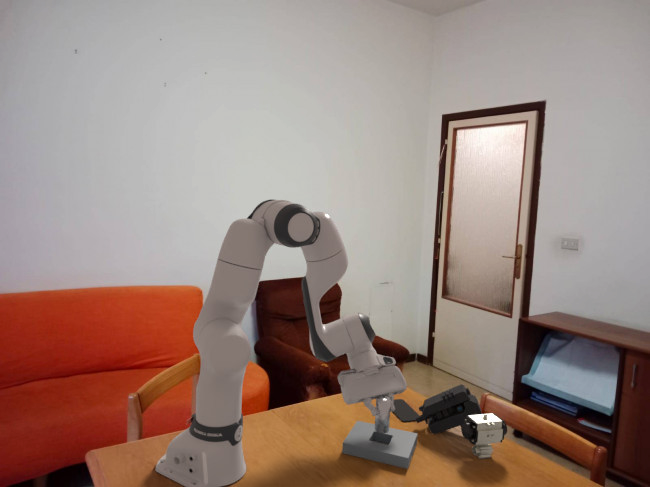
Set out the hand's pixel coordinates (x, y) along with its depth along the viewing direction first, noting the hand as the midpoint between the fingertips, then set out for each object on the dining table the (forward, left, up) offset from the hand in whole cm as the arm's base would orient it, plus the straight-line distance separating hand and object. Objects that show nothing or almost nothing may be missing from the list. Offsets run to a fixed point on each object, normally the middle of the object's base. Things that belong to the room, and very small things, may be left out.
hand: (384, 412), depth 132 cm
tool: (+16, +18, -11) cm, 27 cm away
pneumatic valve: (+26, +8, -11) cm, 30 cm away
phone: (+1, +26, -11) cm, 29 cm away
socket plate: (0, 0, -11) cm, 11 cm away
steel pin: (0, 0, -5) cm, 5 cm away
